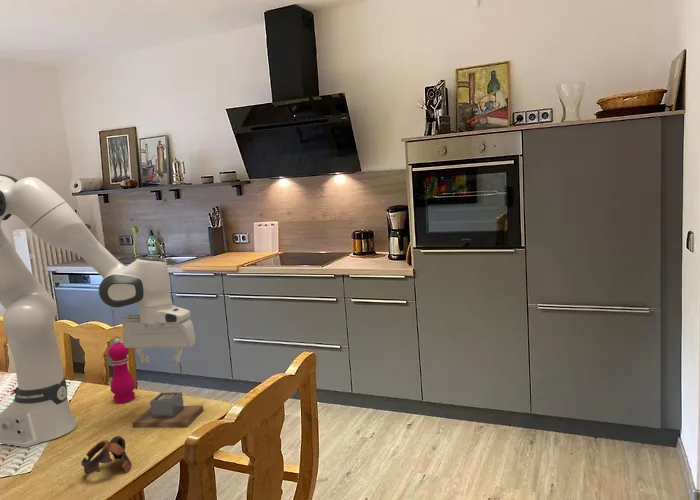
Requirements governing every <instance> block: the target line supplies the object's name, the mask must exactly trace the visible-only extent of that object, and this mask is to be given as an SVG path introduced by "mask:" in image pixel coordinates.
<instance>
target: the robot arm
mask: <svg viewBox="0 0 700 500" xmlns="http://www.w3.org/2000/svg"><path fill="white" fill-rule="evenodd" d="M12 216H15V217H17V218H19V220H21V221H22V222H23V223H24V225H26V226H27V227H28V228H29V230H31V232H33V233H34V234H35V235H36V236H37V237H38V238H40V240H42V241H44V242H45V244H47V245H49V246H50V247H53V248H57V249H61V250H64V251H68V252H70V253H71V252H72V253H74V254H75V255H77V256H80V257H81V258H82V259H83V260H84V261H86V263H87V264H88V265H90V267H92V269H93V270H94V271H96V272H97V273H98V274H99V275H100V276H101V277H102V280H101V282H100V284H99V287H98V296H99V298H100V299H101V301H102V302H103V303H104V304H105V305H107V306H108V307H111V308H123V307H127V306H130V305H133V304H138V313H139V314H126V315H125V316H124V317H123V318H122V319H121V320H122V343H123V345H124V346H125V347H126V348H128V349H135V350H136V354H137V355H138V356H139V357H140V362H141V364H147V363H149V362H150V355H147V354H146V353H145V351H144V350H145V349H155V348H156V349H157V348H162V349H165V348H167V349H169V348H170V349H171V348H173V349H174V348H175V349H174V351H175V352H176V354H174V356H172V363H173V364H178V363H180V362H181V355H182V353H183V351H184V348H190V347H192V346H193V345H194V344H195V342H196V334H195V327H194V323H193V321H192V320H191V319H189V318H190V317H191V311H190V310H189V309H186V308H183V307H178V306H176V305H174V304H173V299H172V298H171V289H172V288H171V287H172V286H171V278H170V272H169V268H168V265H167V262H166V261H165V260H164V259H162V258H160V257H156V256H140V257H137V258H136V259H135V260H134V261H132V262H131V263H129V264H126V263H124V262H122V261H120V260H119V259H118V258H117V257H116V256H115V255H114V254H113V253H112V252H111V251H110V250H109V249H108V248H107V247H106V246H104V245H103V243H101V242H100V241H99V240H98V238H96V236H95V235H94V234H93V233H92V232H91V231H90V229H89V228H88V227H87V225H86V224H85V223H84V221H83V220H82V218H80V216H79V215H78V213H76V211H75V210H74V209H73V207H71V205H70V204H69V203H68V202H67V201H66V200H65V199H64V198H63V197H62V196H61V195H60V194H59V193H58V192H56V191H55V190H54V189H53V188H52V187H51V186H49V185H48V184H47V183H45V182H44V181H42V180H41V179H40V178H37V177H35V176H29V177H23V178H21V179H19V180H18V179H17V178H15V177H13V176H11V175H8V174H1V173H0V305H1V306H2V307H3V308H4V309H5V311H4V314H3V317H2V328H3V331H4V332H5V336H6V339H7V343H8V346H9V348H10V352H11V355H12V358H13V362H14V363H13V364H14V368H15V374H16V381H17V386H16V388H14V389H12V390H11V391H9V393H10V395H9V396H13V395H14V398H13V401H12V402H11V403H10V404H9V405H8V406H7V407H5V408H4V410H3V411H2V412H0V443H2V444H9V445H14V446H13V447H17V446H20V447H19V448H28V447H31V446H34V445H37V444H39V443H40V444H41V443H44V442H48V441H52V440H54V439H57V438H60V437H62V436H65V435H67V434H68V433H70V432H72V431H73V430H74V429H75V428H76V427H77V426H78V423H77V421H76V419H75V417H74V414H73V412H72V409H71V406H70V402H69V399H68V385H67V381H66V377H64V371H63V364H62V358H61V352H60V348H59V346H58V342H57V338H56V334H55V329H54V320H55V318H56V316H57V312H58V307H57V304H56V301H55V300H54V298H53V297H52V296H51V294H50V293H49V292H48V291H47V290H46V288H45V287H44V286H43V285H42V283H41V282H40V281H39V280H38V278H37V277H36V276H35V275H34V274H32V272H31V271H30V270H29V268H28V267H27V265H26V264H25V263H24V261H23V259H22V258H21V256H20V255H19V253H18V252H17V251H16V249H15V248H14V246H13V245H12V243H11V241H10V240H9V239H8V238H7V236H6V235H5V233H4V231H3V229H2V221H7V220H9V219H10V217H12ZM9 445H8V446H9Z"/></svg>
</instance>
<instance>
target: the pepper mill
mask: <svg viewBox="0 0 700 500" xmlns="http://www.w3.org/2000/svg"><path fill="white" fill-rule="evenodd" d="M129 349H130V348H126V347H125V346H124V345H123V342H121V339H120V338H115V339H114V340H113V343H112V345H110V346H109V348H108V350H107V354H108V357H109V358H110V364H111V365H112V368H113V375H112V379H111V381H110V392H111V393H112V394H113V397H112V398H113V403H115V404H119V405H120V404H126V403H130V402H132V401H134V400H135V399H136V394H135V391H134V390H135V388H136V383H135V379H134V378H133V376H132V374H131V373H130V371H129V370H130V369H129V366H128V363H129V360H128V359H129V357H128V355H129V351H130V350H129Z"/></svg>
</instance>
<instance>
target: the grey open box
mask: <svg viewBox="0 0 700 500" xmlns="http://www.w3.org/2000/svg"><path fill="white" fill-rule="evenodd" d="M165 394H175V396H174V397H173V398H172V399H171V400H157V399H159V398H160V397H161V396H162V395H165ZM149 404H150V407H151V413H152V419H155V418H175V417H176V416H177V415H178V414H179V413H180V412H181V411H182V410H183V409H184V407H183V406H184V399H183V392H178V391H177V392H176V391H175V392H169V391H167V392H160V393H158V395H156V396H155V397H154V398H152V400H151V399H150V401H149Z"/></svg>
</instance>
